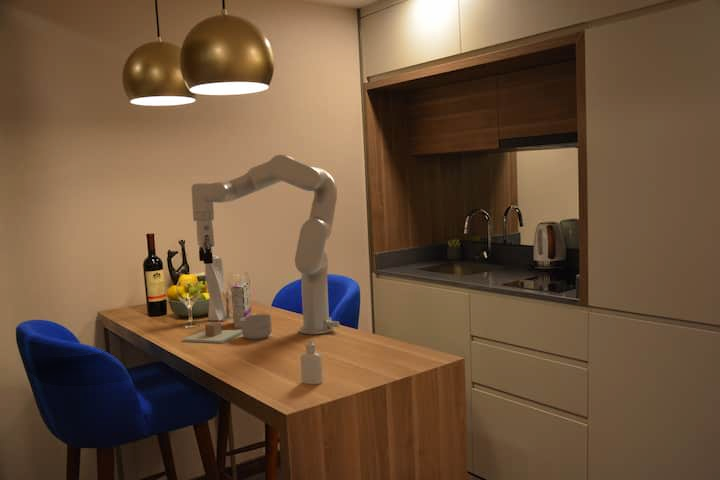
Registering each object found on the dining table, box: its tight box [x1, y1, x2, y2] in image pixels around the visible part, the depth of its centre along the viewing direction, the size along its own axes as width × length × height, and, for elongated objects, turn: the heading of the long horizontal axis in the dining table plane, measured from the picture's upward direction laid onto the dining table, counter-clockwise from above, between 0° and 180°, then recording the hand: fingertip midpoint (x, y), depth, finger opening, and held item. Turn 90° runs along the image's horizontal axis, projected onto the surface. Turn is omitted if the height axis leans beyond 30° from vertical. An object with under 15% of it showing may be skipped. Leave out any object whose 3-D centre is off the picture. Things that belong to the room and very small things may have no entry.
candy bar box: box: [230, 281, 252, 329], centre depth 246 cm, size 11×5×16 cm, turn 179°
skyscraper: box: [204, 252, 233, 322], centre depth 259 cm, size 8×8×28 cm
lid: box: [183, 321, 242, 344], centre depth 228 cm, size 15×15×5 cm
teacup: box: [240, 313, 273, 341], centre depth 227 cm, size 14×11×8 cm
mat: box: [180, 333, 243, 345], centre depth 228 cm, size 17×17×1 cm
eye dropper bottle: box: [300, 339, 323, 385], centre depth 174 cm, size 4×6×12 cm
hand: (206, 262), depth 238 cm, fingers open, 9 cm apart
